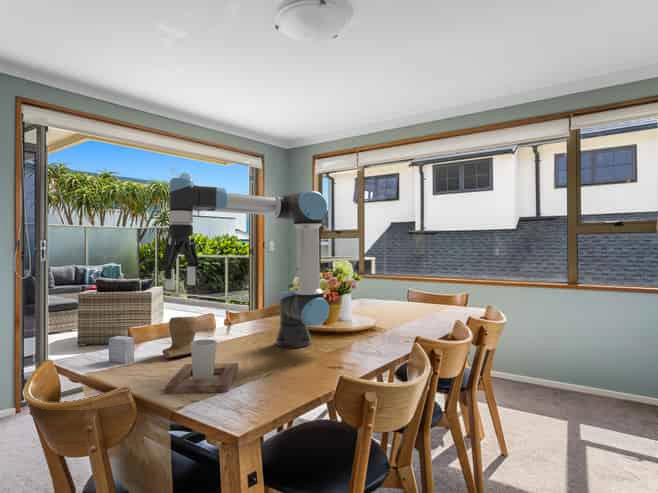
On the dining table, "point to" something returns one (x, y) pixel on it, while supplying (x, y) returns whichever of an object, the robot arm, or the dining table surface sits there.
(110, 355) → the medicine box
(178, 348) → the wooden stamp
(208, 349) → the cup
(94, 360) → the dining table surface
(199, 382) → the board
